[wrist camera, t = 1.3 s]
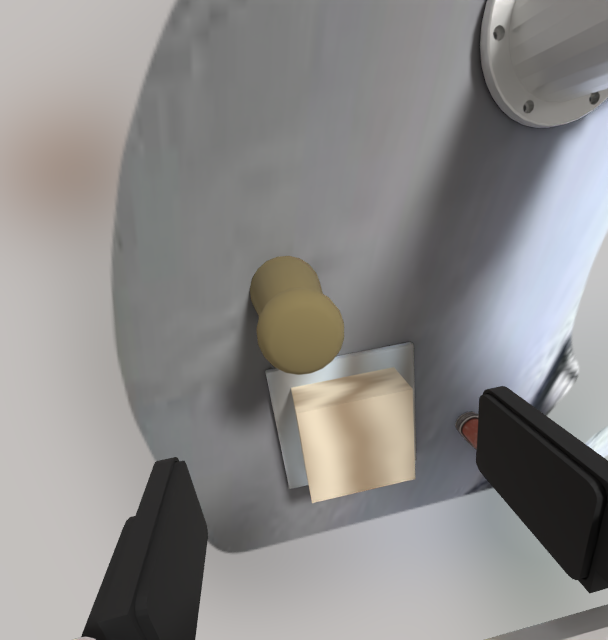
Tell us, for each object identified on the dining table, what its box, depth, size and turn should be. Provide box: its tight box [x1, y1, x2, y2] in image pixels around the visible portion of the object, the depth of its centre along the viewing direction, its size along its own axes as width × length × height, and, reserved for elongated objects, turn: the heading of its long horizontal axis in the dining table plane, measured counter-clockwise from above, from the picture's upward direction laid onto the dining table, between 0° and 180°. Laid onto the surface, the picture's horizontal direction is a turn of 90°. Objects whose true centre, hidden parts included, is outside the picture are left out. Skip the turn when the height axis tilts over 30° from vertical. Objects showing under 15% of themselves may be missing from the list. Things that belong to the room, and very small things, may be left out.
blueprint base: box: [266, 342, 416, 503], centre depth 32 cm, size 14×14×5 cm
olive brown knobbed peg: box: [250, 256, 344, 375], centre depth 24 cm, size 6×6×11 cm
